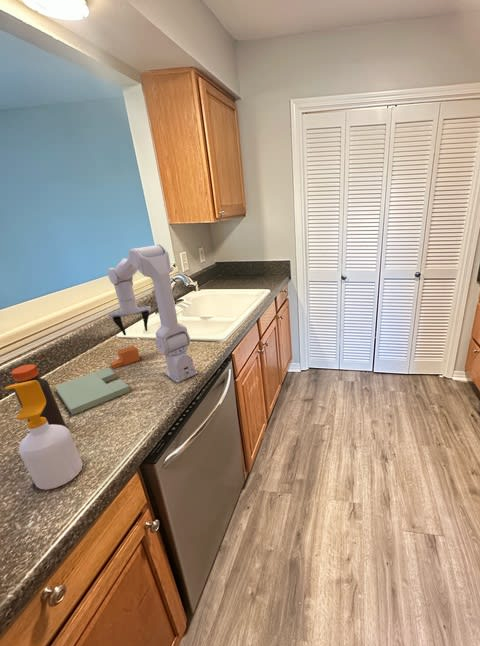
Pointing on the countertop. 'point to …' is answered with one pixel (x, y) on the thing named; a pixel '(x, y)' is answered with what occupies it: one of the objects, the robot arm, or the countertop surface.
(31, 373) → the vinegar
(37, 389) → the soap bottle
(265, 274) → the countertop surface
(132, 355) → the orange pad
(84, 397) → the grey tile
